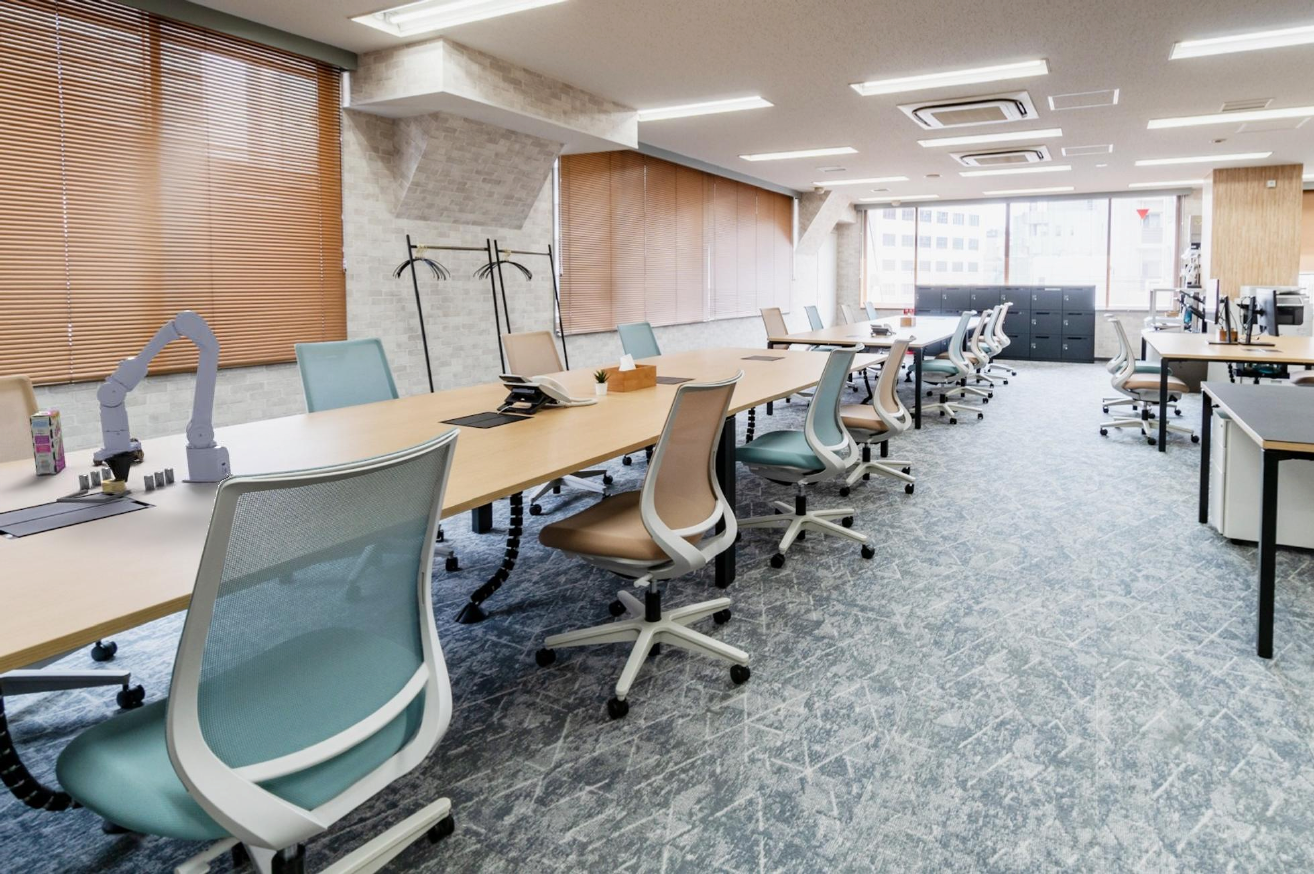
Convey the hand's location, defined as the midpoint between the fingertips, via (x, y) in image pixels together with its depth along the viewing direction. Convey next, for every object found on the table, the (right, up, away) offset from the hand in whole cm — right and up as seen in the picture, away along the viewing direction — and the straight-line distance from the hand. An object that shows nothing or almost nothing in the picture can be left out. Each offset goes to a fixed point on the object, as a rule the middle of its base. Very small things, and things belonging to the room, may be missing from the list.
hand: (122, 482), depth 210 cm
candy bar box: (-32, +2, +19) cm, 37 cm away
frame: (-1, -3, -9) cm, 10 cm away
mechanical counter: (-20, +4, +31) cm, 37 cm away
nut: (0, -2, -3) cm, 3 cm away
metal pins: (0, -1, +2) cm, 2 cm away
